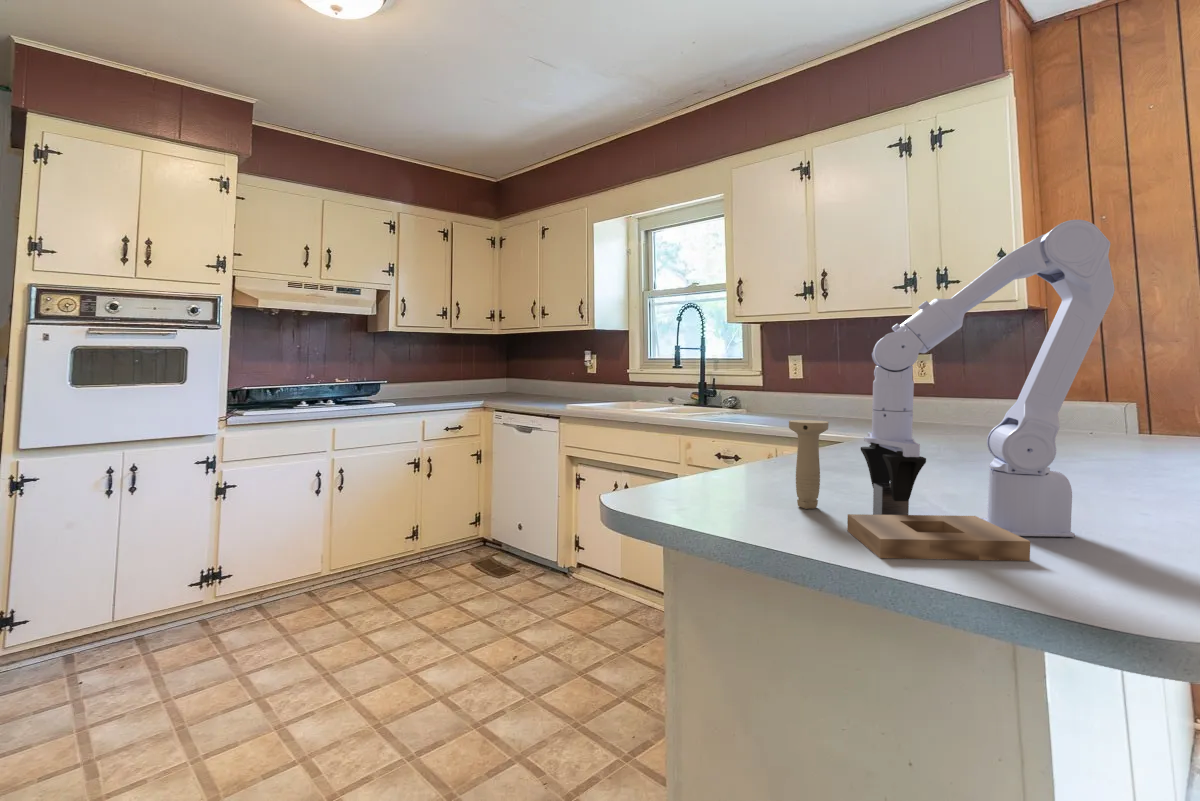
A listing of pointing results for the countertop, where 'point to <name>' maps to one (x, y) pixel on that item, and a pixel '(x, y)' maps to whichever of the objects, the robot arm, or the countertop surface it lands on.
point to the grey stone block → (887, 501)
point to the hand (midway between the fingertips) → (890, 494)
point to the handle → (808, 460)
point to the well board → (937, 537)
